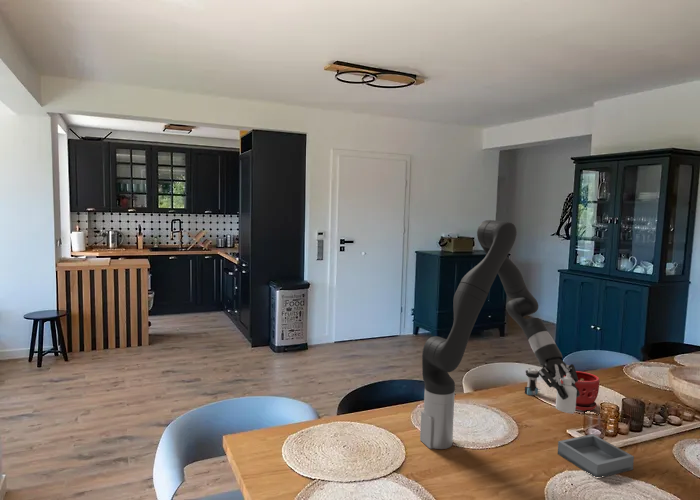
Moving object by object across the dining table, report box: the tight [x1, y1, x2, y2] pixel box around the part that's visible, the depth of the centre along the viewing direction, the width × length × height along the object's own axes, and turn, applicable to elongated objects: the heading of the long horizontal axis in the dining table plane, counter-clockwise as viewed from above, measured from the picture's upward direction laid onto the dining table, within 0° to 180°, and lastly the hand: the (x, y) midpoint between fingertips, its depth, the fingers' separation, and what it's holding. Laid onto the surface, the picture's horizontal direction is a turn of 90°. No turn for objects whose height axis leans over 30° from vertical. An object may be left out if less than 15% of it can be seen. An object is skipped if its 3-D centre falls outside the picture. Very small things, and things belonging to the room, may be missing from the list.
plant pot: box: [560, 370, 600, 412], centre depth 179 cm, size 13×13×12 cm
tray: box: [557, 434, 635, 478], centre depth 139 cm, size 14×14×4 cm
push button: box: [524, 367, 541, 396], centre depth 190 cm, size 7×5×10 cm
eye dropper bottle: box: [555, 373, 577, 414], centre depth 149 cm, size 4×6×12 cm
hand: (571, 397), depth 147 cm, fingers closed on eye dropper bottle, 4 cm apart
